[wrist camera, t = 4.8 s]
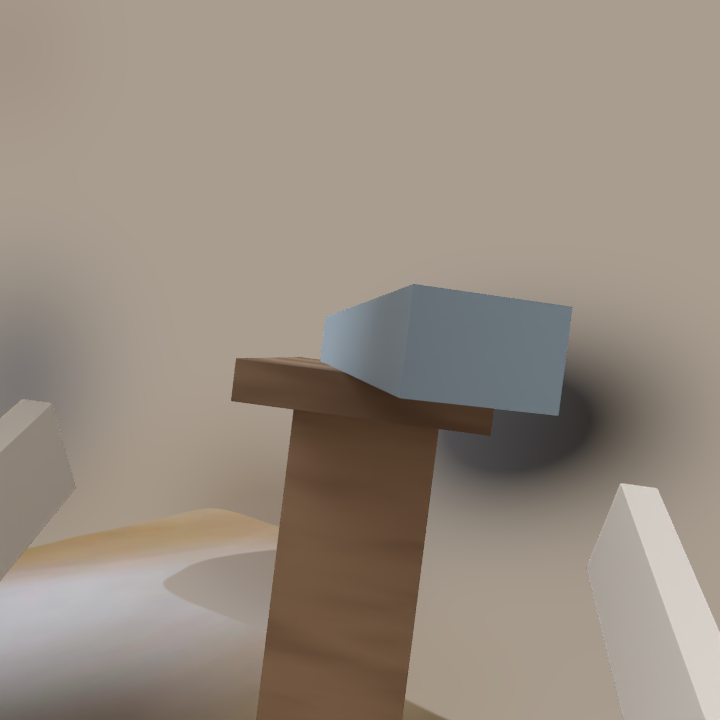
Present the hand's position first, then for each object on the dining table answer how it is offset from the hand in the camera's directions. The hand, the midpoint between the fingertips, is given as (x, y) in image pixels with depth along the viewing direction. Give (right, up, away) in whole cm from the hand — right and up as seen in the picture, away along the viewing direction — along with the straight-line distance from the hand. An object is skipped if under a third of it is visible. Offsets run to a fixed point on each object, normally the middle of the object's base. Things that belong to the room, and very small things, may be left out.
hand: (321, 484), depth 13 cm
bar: (+2, +2, +14) cm, 14 cm away
